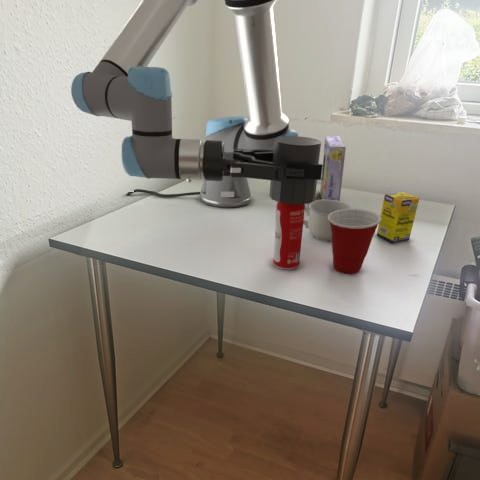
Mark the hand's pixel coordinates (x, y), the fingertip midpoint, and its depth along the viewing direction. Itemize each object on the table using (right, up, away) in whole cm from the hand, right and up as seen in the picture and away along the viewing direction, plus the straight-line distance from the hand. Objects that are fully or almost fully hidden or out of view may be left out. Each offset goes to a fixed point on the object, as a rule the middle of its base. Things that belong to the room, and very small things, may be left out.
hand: (318, 165), depth 92 cm
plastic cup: (+8, -19, +11) cm, 23 cm away
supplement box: (+24, -9, +28) cm, 38 cm away
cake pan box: (+12, +7, +54) cm, 55 cm away
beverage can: (-5, -18, +11) cm, 22 cm away
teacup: (+5, -9, +27) cm, 29 cm away
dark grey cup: (-5, -5, +3) cm, 8 cm away
